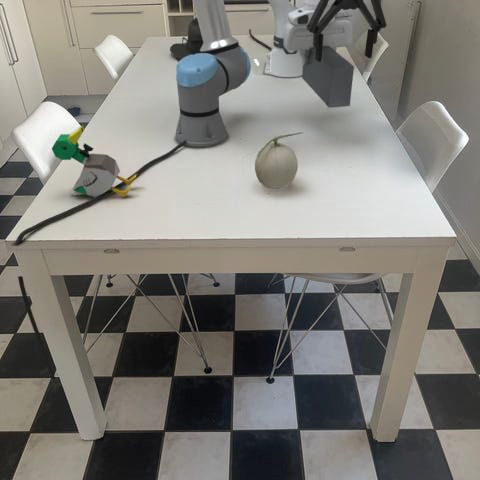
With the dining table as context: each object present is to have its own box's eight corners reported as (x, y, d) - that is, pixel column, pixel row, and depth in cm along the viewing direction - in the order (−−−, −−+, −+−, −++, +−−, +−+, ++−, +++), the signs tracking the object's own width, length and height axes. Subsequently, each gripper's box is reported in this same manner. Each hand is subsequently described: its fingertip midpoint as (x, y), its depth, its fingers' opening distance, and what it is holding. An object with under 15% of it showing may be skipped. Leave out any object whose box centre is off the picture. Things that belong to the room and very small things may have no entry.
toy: (142, 171, 123) (65, 124, 116) (107, 221, 129) (32, 180, 123) (145, 161, 129) (71, 115, 122) (111, 210, 135) (40, 169, 128)
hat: (244, 41, 245) (244, 9, 237) (237, 63, 216) (236, 28, 208) (179, 41, 248) (176, 9, 240) (163, 63, 219) (159, 27, 211)
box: (349, 105, 141) (354, 66, 134) (329, 107, 140) (332, 68, 134) (320, 76, 161) (322, 40, 155) (302, 77, 161) (303, 42, 154)
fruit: (243, 186, 130) (242, 131, 122) (278, 172, 136) (279, 118, 127) (270, 202, 124) (271, 145, 115) (305, 187, 129) (308, 131, 121)
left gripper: (395, -38, 126) (382, 51, 138) (297, -34, 122) (292, 57, 134) (409, -34, 120) (394, 59, 132) (307, -29, 116) (301, 66, 128)
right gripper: (350, 9, 150) (345, 57, 158) (282, 14, 147) (281, 63, 155) (358, 14, 145) (353, 63, 153) (288, 19, 142) (286, 69, 150)
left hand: (343, 58), depth 133 cm, fingers open, 13 cm apart
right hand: (316, 63), depth 154 cm, fingers closed on box, 6 cm apart
